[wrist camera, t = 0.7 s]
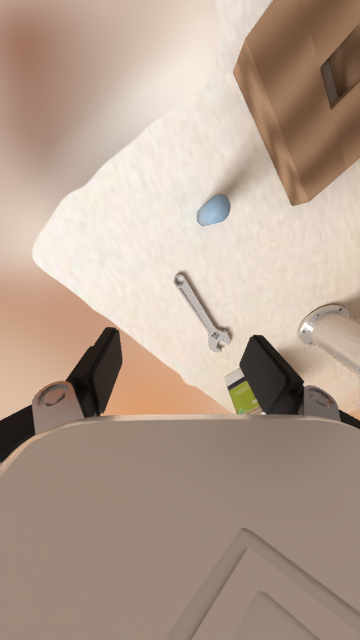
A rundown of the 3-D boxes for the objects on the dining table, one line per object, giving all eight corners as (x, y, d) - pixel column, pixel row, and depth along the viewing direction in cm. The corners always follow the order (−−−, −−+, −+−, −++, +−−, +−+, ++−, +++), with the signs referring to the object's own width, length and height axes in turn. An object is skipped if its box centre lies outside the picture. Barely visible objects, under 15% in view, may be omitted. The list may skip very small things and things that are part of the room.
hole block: (391, 116, 23) (430, 96, 20) (292, 205, 28) (308, 201, 25) (363, -106, 15) (419, -204, 12) (232, 72, 20) (245, 39, 17)
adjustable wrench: (170, 277, 34) (170, 279, 33) (196, 263, 33) (197, 264, 32) (212, 350, 45) (213, 354, 44) (232, 342, 44) (234, 346, 43)
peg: (215, 216, 28) (234, 209, 20) (203, 229, 29) (216, 227, 21) (205, 202, 27) (221, 187, 19) (193, 216, 28) (202, 208, 20)
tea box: (269, 382, 54) (300, 429, 41) (245, 395, 57) (266, 442, 44) (247, 361, 48) (275, 408, 35) (222, 377, 51) (239, 425, 38)
